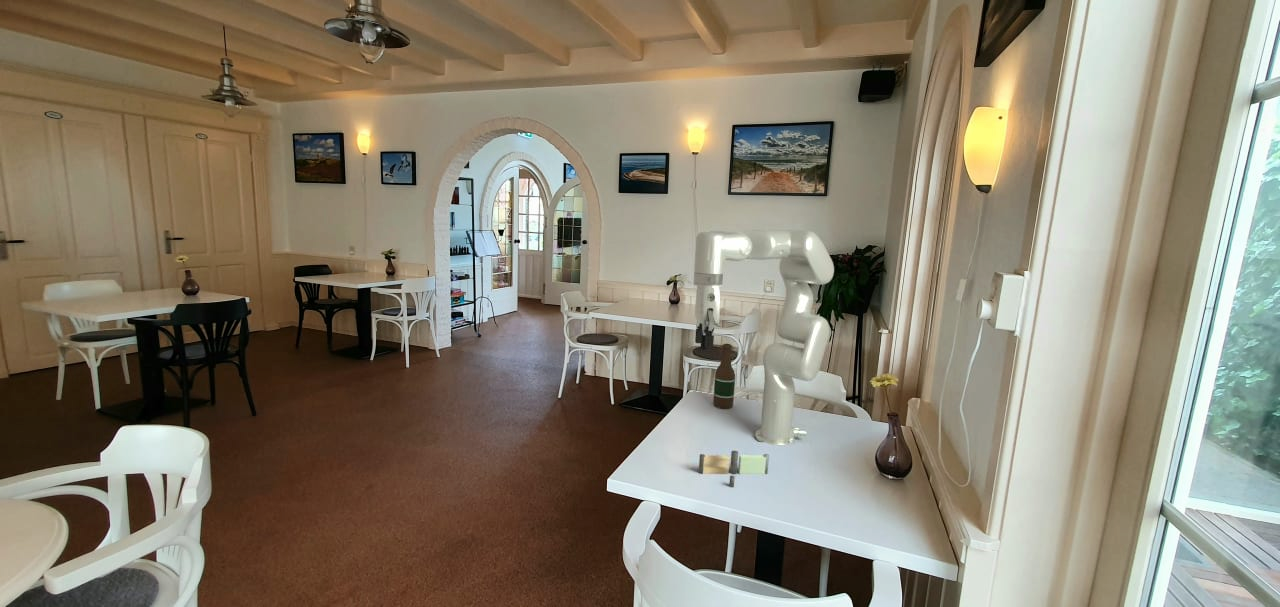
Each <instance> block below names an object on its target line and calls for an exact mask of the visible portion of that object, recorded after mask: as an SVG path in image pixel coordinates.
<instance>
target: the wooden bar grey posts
mask: <svg viewBox="0 0 1280 607" xmlns="http://www.w3.org/2000/svg"><path fill="white" fill-rule="evenodd" d="M738 458H739V451H738V450H732V451H731V454H730V457H729V455H713V454H712V455H709V454H708V455H705V454H704V453H701V454H699V459H698V460H699V462H698V474H699V475H700V474H701V475H728V474H731V475H730V476H729V487H730V488H734V487H735V480H736V479H735V478H736V477H735V476H734V475H737V472H738V462H739V459H738Z"/></svg>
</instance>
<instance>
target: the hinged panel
mask: <svg viewBox="0 0 1280 607" xmlns="http://www.w3.org/2000/svg"><path fill="white" fill-rule="evenodd" d="M738 458H739V459H738V467H737V472H738V473H739V474H740V475H767V474H768V472H769V462H770V461H769V459H770V454H768V453H764V454H739V455H738Z"/></svg>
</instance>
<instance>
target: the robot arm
mask: <svg viewBox="0 0 1280 607" xmlns="http://www.w3.org/2000/svg"><path fill="white" fill-rule="evenodd" d="M695 238H696V239H695V249H694V250H695V253H694V254H695V255H694V267H693V268H694V269H693V282H692V283H693V284H692V285H693V286H696V291H695V292H696V294H695V304H694V305H695V308H694V317H695V319H696V325H695V327H696V328H695V336H694V337H695V339H694V340H695V341H694V342H695V344H700V347H699V348H700V350H701V351H713V350H714V344H715V343H714V339H715V338H714V337H715V325H716V326H718V325H719V324H720V318H721V316H720V314H721V313H720V312H721V289H720V288H721V287H723V281H724V267H725V266H724V264H725V261H731V262H740V261H743V260H745V259H747V260H757V261H758V260H759V261H765V260H777V259H778V260H780V261H779V267H778V268H779V269H778V270H779V273H780V276H781V277H782V280H783V283H784V288H785V299H784V303H783V305H782V306H783V307H782V309H781V313H780V317H779V319H778V323H777V329H776V330H777V335H778V337H780V338H781V339H783V340H786V341H790V342H794V343H796V344H803V345H804V346H803V347H800V346H799V347H798V346H795V345H791V344H787V343H782V342H774V343H771V344H769V345H768V346H766V347H765V349H764V352H763V356H762V362H763V371H764V383H763V395H762V396H763V397H762V408H761V423H760V428H759V429H757V430H756V431H755V433H754V437H755V439H756V440H757V441H758V442H759V443H765V444H768V445H769V444H770V445H774V446H790V445H793V444H795V443H796V437H797V436H800V437H801V436H802V437H805V436H806V435H807V430H806V429H800V427H797V426H796V427H793V426H792V425H793V416H794V415H793V413H794V404H795V395H796V394H795V393H796V386H795V383H794V380H793V379H796V380H800V381H803V382H811V381H813V380H814V379H815V378H816V377H817V376H818V373H819V371H820V368H821V365H822V362H823V358H824V356H825V351H826V348H827V345H828V342H829V337H830V324H829V322H828V320H827V319H826V318H825V317H823V316H821V315H817V314H812V313H811V312H812V307H813V304H814V295H813V292H812V289H811V287H810V285H811V284H812V285H819V286H820V285H825V284H828V283H830V282H831V281H832V279H833V277H834V273H835V266H834V261H833V260H832V258H831V256H830V254H829V251H827V248H826V247H825V245H824V243H823V241H822V239H821V238H820V237H819V236H818V235H817V234H816V233H815V232H814V231H810V230H800V229H799V230H795V229H752V230H751V229H749V230H748V229H747V230H715V231H714V230H712V231H701V232H699V233H697V235H696V237H695ZM809 284H810V285H809Z"/></svg>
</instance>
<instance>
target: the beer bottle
mask: <svg viewBox="0 0 1280 607" xmlns="http://www.w3.org/2000/svg"><path fill="white" fill-rule="evenodd" d="M721 347H722V351H721V360H720V364H719V365H718V367H717V368H716V370H715V373H714V387H713V400H712V401H713V406H715V407H714V408H718V409H721V410H728V409H733V406H734V398H735V386H736V385H735V384H736V374H735V370H734V368H733V367H732V349H733V346H732V344H730V343H724V344H722V346H721Z"/></svg>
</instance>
